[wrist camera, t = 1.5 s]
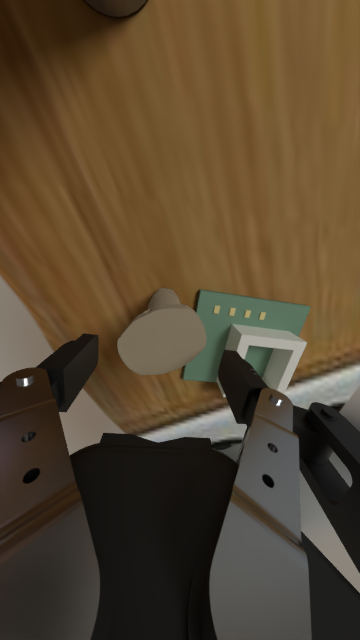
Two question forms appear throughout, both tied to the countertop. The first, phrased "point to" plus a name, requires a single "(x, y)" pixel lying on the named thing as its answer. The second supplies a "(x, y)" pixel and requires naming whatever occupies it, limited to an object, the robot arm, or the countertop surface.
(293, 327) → the board
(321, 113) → the countertop surface
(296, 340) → the socket
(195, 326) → the handle
